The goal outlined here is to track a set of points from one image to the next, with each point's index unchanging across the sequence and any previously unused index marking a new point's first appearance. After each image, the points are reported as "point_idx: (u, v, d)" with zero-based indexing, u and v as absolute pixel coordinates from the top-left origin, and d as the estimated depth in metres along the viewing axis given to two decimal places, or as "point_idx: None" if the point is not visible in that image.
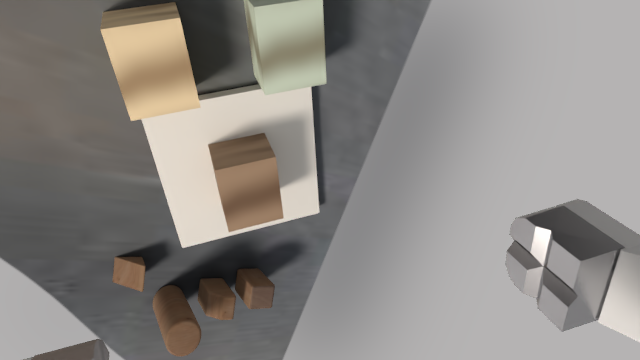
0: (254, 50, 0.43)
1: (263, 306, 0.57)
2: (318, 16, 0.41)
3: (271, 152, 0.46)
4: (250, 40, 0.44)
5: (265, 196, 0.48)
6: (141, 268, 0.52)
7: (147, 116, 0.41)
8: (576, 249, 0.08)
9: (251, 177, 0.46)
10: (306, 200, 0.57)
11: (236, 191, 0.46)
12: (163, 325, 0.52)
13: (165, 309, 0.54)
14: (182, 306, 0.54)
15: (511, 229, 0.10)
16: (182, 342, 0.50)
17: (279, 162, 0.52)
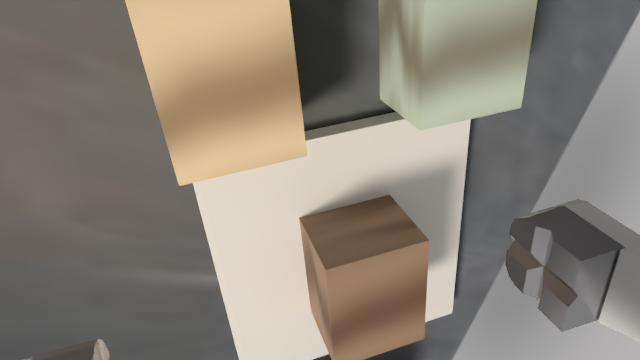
0: (396, 51, 0.24)
1: None
2: None
3: (417, 231, 0.26)
4: (384, 36, 0.25)
5: (401, 306, 0.27)
6: None
7: (210, 176, 0.21)
8: (576, 249, 0.08)
9: (385, 277, 0.26)
10: (436, 297, 0.36)
11: (356, 303, 0.26)
12: None
13: None
14: None
15: (511, 229, 0.10)
16: None
17: None
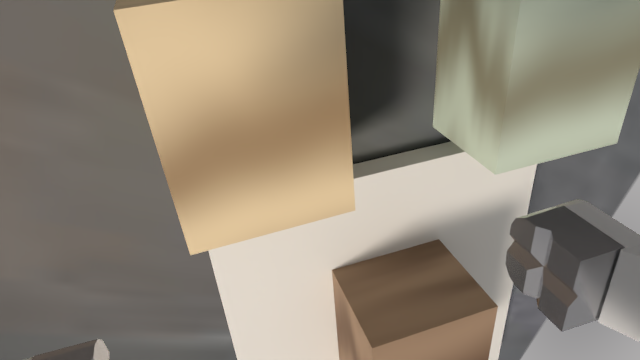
0: (464, 72, 0.19)
1: None
2: None
3: (480, 292, 0.21)
4: (445, 52, 0.20)
5: None
6: None
7: (230, 241, 0.16)
8: (576, 249, 0.08)
9: (442, 350, 0.21)
10: None
11: None
12: None
13: None
14: None
15: (511, 229, 0.10)
16: None
17: None
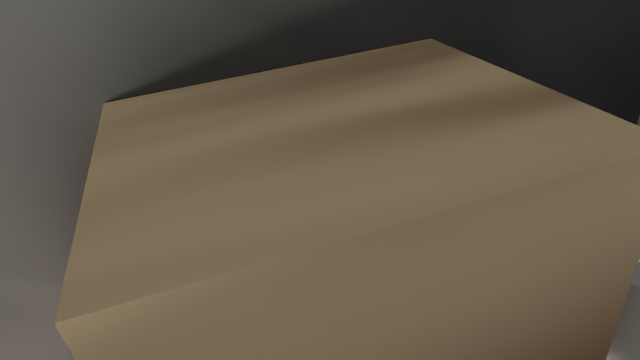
0: None
1: None
2: None
3: None
4: None
5: None
6: None
7: None
8: None
9: None
10: None
11: None
12: None
13: None
14: None
15: None
16: None
17: None
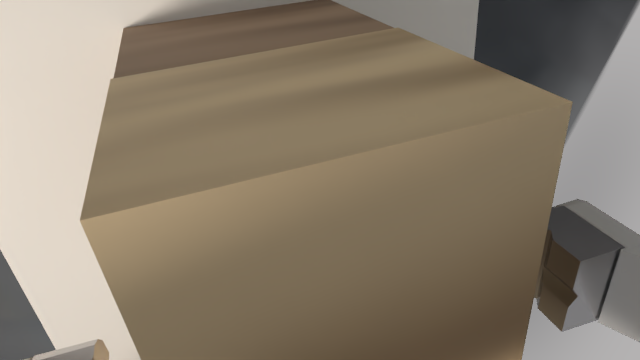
0: None
1: None
2: None
3: (373, 24, 0.11)
4: None
5: None
6: None
7: None
8: (576, 249, 0.08)
9: None
10: None
11: None
12: None
13: None
14: None
15: None
16: None
17: None
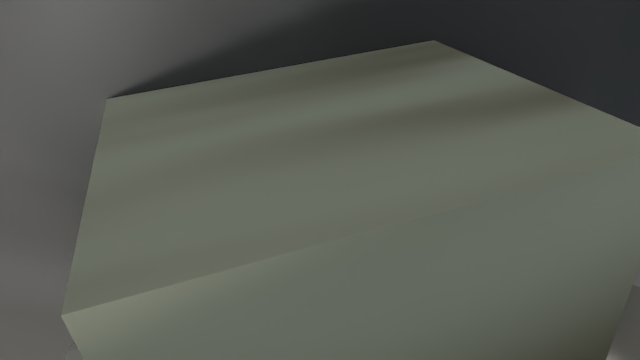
0: None
1: None
2: (610, 270, 0.06)
3: None
4: None
5: None
6: None
7: None
8: None
9: None
10: None
11: None
12: None
13: None
14: None
15: None
16: None
17: None
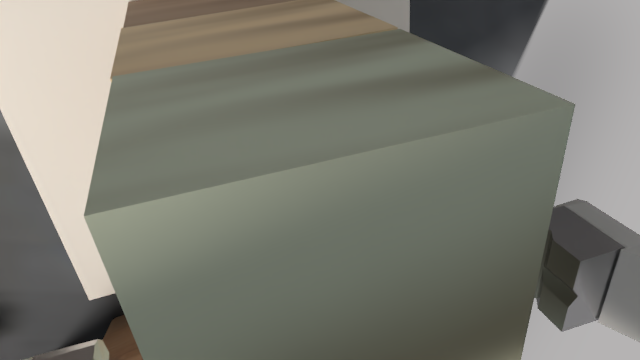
0: None
1: None
2: (527, 211, 0.07)
3: None
4: None
5: None
6: None
7: None
8: (576, 249, 0.08)
9: None
10: None
11: None
12: None
13: None
14: None
15: None
16: None
17: None
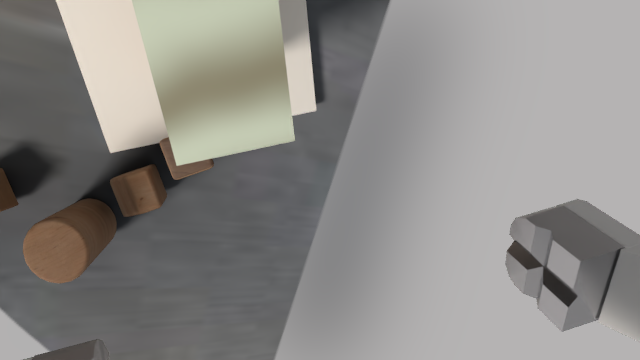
0: None
1: (196, 168, 0.34)
2: (269, 12, 0.21)
3: None
4: None
5: None
6: None
7: None
8: (576, 249, 0.08)
9: None
10: (296, 87, 0.39)
11: None
12: None
13: None
14: (63, 210, 0.33)
15: (511, 229, 0.10)
16: (56, 258, 0.29)
17: None
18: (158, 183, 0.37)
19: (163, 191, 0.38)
